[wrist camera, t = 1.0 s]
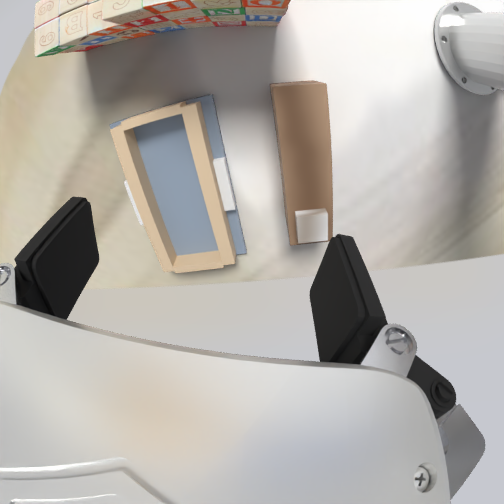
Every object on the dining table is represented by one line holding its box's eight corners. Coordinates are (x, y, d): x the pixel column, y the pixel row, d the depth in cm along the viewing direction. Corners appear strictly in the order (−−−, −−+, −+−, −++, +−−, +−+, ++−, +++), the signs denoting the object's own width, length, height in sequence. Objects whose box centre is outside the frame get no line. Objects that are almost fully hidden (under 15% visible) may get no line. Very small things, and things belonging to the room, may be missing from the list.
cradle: (212, 94, 25) (207, 97, 23) (246, 250, 37) (245, 265, 35) (111, 123, 27) (99, 130, 24) (162, 261, 39) (156, 275, 36)
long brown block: (313, 80, 25) (329, 84, 19) (321, 213, 34) (334, 247, 28) (269, 83, 25) (273, 88, 19) (285, 216, 34) (291, 252, 29)
